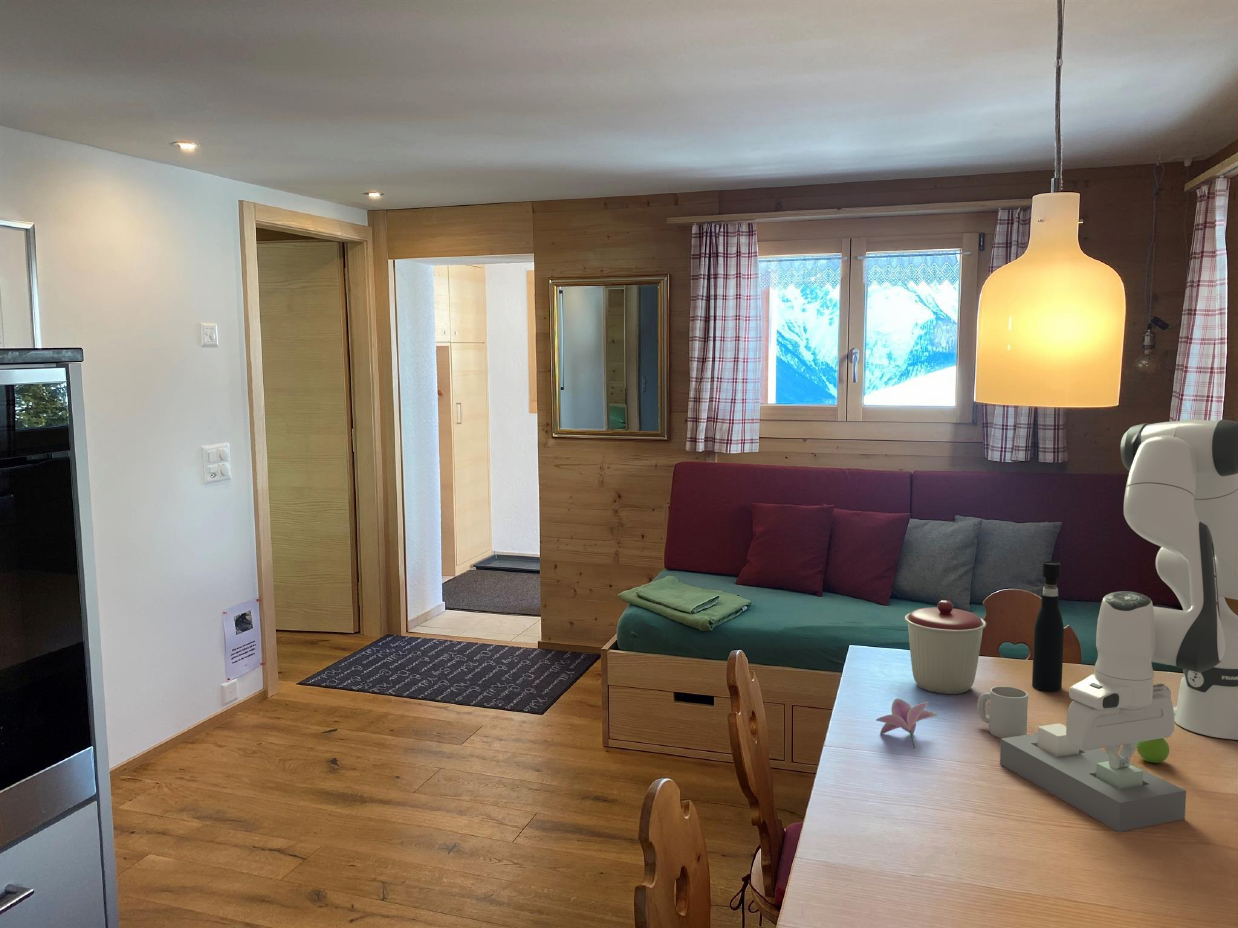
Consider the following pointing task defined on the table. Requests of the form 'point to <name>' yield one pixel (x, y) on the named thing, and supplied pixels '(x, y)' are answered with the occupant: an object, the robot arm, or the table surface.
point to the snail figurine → (1153, 750)
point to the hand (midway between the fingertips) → (1119, 766)
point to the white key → (1055, 740)
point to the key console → (1094, 785)
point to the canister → (944, 647)
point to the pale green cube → (1119, 776)
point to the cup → (1005, 711)
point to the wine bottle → (1048, 635)
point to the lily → (905, 717)
